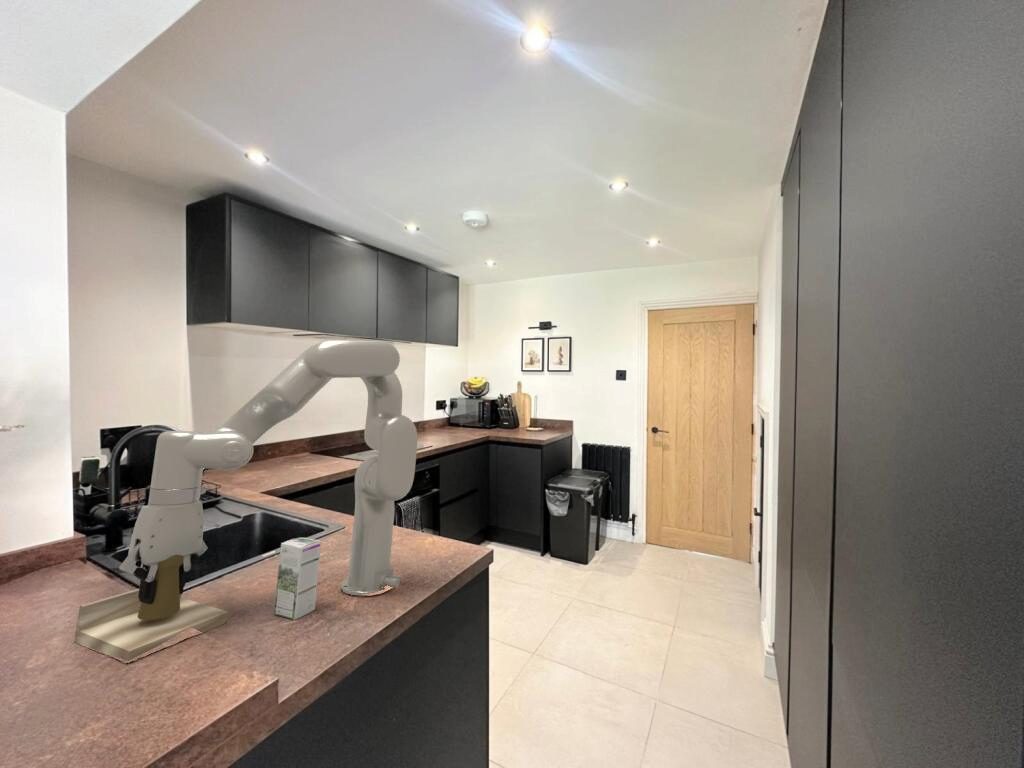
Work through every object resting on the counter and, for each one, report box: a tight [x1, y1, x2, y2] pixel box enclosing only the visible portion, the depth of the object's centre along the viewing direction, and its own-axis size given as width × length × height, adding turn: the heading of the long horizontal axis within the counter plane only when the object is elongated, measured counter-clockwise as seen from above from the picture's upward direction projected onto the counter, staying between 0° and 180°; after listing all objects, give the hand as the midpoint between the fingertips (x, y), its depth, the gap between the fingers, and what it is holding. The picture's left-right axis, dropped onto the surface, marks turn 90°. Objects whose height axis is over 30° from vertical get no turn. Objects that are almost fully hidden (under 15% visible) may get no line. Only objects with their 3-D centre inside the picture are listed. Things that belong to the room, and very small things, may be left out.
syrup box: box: [273, 536, 322, 621], centre depth 87 cm, size 6×6×14 cm
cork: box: [137, 555, 184, 620], centre depth 77 cm, size 6×6×11 cm
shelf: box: [73, 588, 229, 661], centre depth 76 cm, size 15×16×6 cm
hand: (161, 596), depth 76 cm, fingers closed on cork, 4 cm apart
